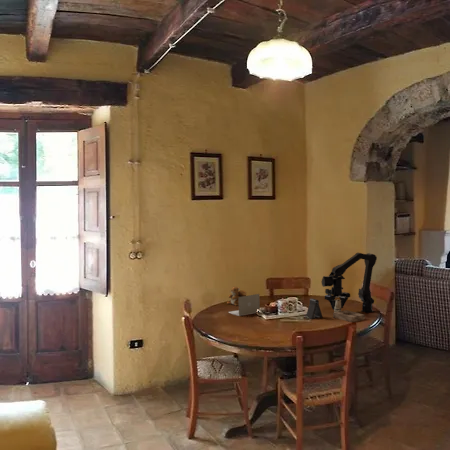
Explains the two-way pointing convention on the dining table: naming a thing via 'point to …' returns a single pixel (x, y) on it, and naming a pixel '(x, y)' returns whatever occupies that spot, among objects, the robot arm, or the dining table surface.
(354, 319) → the walnut board
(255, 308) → the laptop
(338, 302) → the birch peg
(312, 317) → the phone stand
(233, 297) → the stuffed squirrel
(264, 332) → the dining table surface
